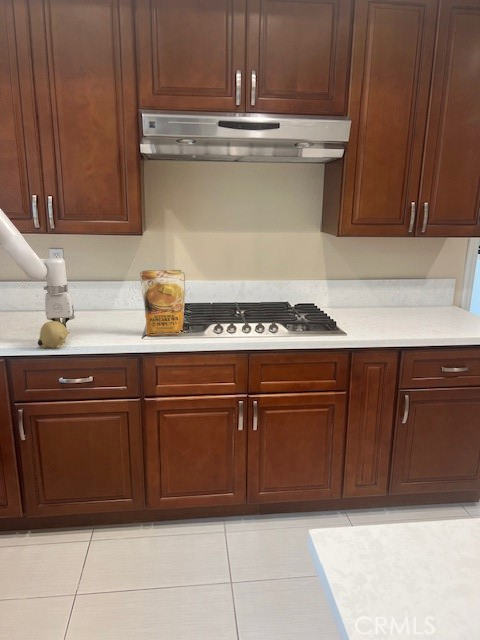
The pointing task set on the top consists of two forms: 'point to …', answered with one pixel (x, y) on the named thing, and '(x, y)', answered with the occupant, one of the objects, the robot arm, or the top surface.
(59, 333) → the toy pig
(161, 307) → the pancake mix bag
